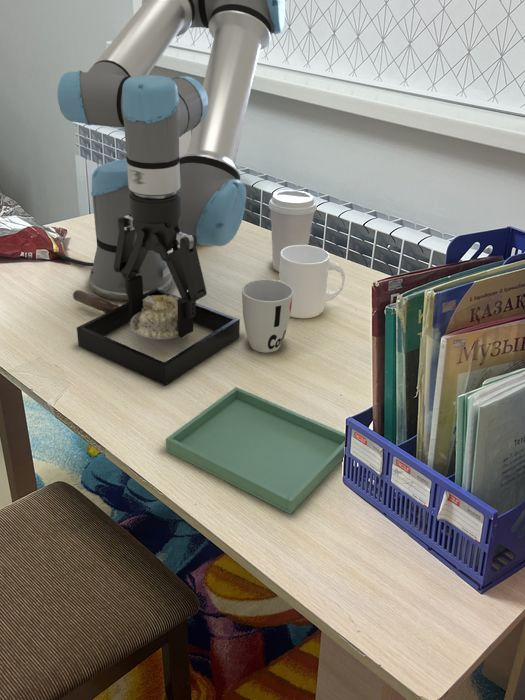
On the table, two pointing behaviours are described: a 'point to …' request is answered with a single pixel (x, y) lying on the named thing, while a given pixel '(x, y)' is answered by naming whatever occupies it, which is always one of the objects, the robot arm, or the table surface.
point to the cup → (266, 313)
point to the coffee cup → (290, 220)
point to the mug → (308, 278)
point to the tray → (260, 448)
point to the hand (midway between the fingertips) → (160, 323)
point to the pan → (152, 368)
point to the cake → (157, 318)
